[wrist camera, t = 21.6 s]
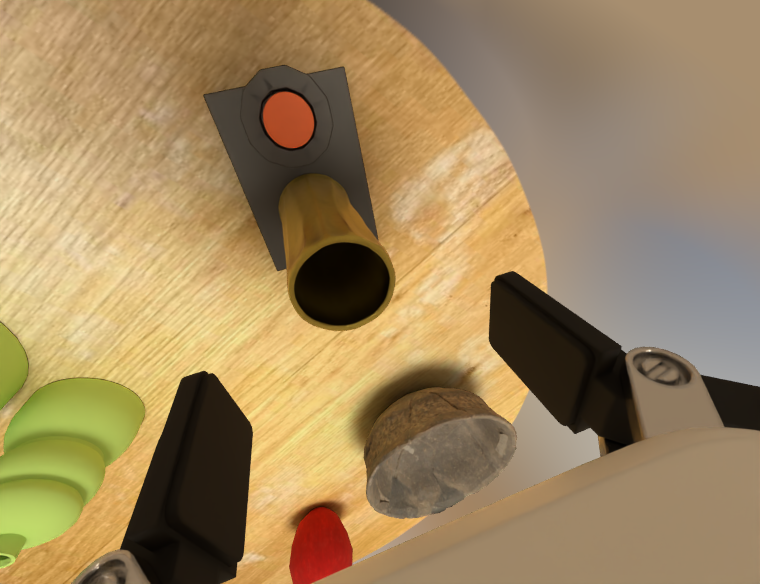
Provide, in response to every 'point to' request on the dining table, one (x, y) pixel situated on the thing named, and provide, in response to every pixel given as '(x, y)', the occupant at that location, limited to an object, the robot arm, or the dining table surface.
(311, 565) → the apple
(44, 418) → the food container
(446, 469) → the bowl
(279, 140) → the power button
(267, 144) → the button base plate
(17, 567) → the dining table surface
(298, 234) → the vase
